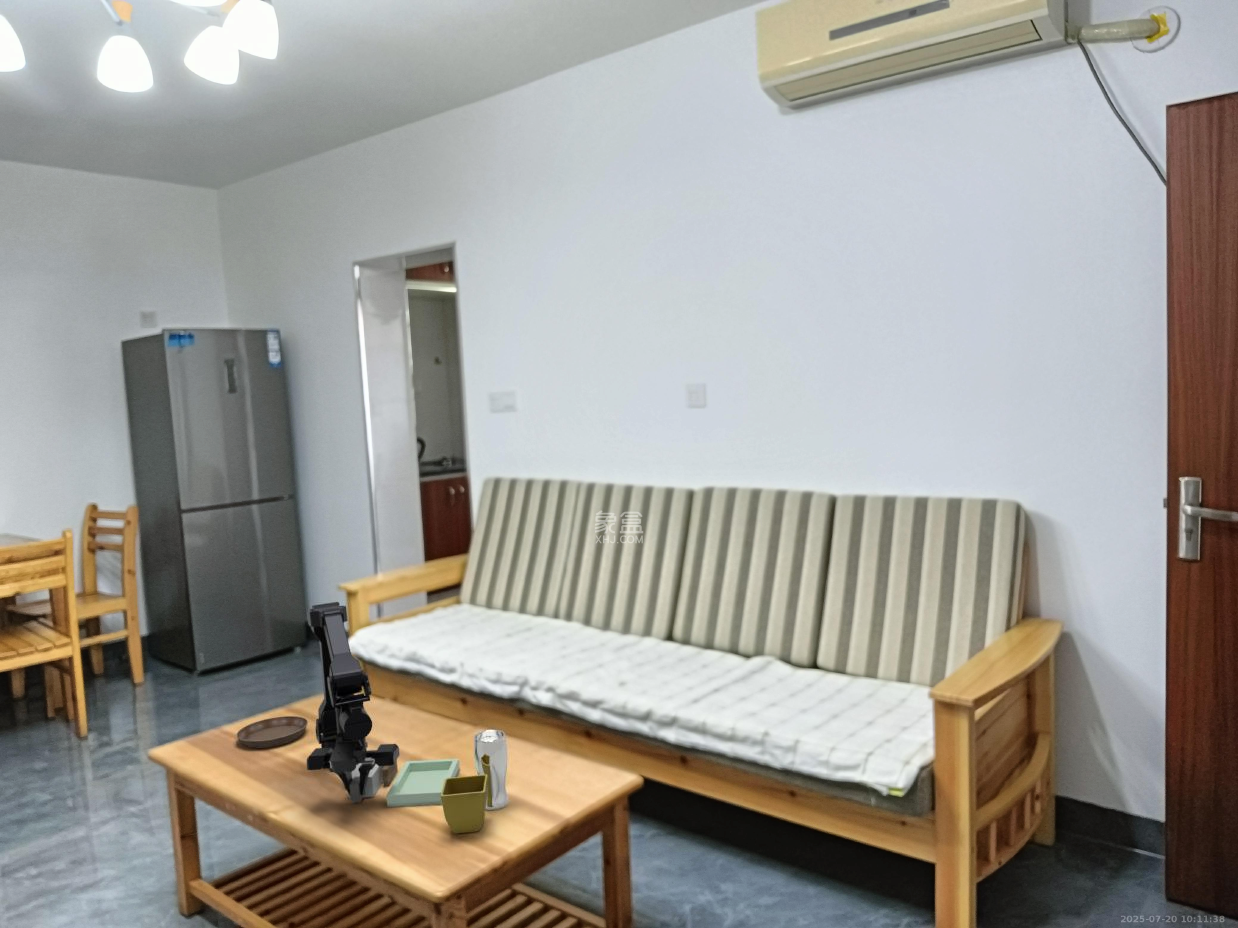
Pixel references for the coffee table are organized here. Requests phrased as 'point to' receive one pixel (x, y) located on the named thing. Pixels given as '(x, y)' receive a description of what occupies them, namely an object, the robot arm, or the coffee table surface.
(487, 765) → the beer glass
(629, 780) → the coffee table surface
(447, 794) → the flower pot
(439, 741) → the coffee table surface
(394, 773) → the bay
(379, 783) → the grey stepped block
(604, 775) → the coffee table surface
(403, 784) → the tray
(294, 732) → the plant saucer
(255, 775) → the coffee table surface
